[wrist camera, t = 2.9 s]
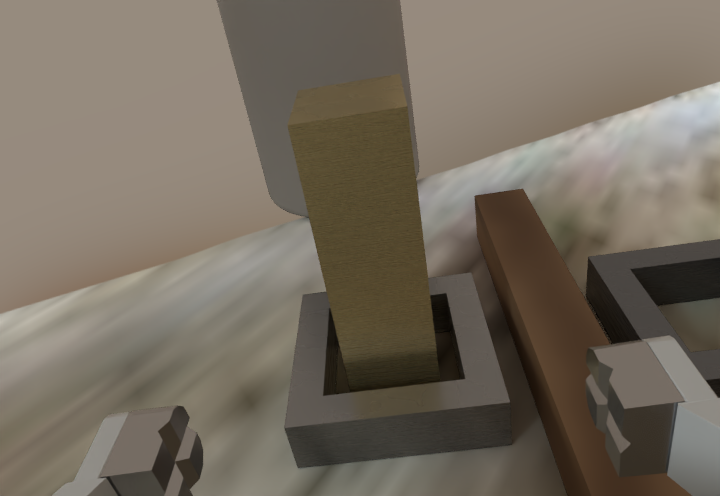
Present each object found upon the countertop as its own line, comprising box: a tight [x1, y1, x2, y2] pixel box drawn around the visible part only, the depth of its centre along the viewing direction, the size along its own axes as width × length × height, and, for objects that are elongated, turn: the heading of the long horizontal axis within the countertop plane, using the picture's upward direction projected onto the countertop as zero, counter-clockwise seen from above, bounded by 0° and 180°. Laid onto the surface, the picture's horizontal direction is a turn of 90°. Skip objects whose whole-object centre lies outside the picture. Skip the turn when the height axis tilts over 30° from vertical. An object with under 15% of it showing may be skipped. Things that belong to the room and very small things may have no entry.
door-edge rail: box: [475, 189, 692, 496], centre depth 27 cm, size 3×22×3 cm, turn 0°
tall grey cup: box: [217, 0, 419, 217], centre depth 41 cm, size 12×12×25 cm
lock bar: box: [287, 74, 440, 393], centre depth 24 cm, size 4×4×14 cm
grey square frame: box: [284, 272, 512, 468], centre depth 27 cm, size 9×9×2 cm
